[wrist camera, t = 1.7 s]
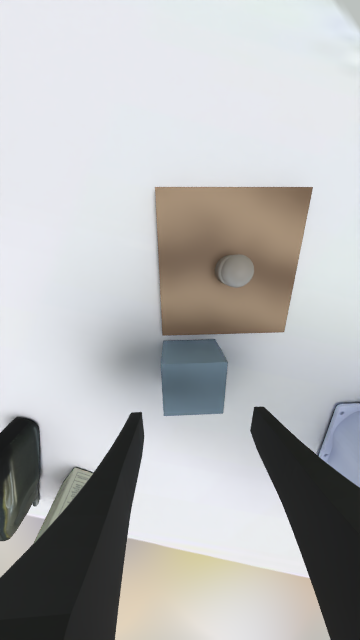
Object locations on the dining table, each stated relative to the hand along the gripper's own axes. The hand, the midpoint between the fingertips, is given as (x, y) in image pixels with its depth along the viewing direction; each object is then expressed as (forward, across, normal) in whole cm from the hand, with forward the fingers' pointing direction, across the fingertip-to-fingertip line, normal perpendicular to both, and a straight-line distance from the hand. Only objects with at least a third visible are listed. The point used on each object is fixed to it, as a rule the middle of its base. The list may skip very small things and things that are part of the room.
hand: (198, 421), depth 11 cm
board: (+7, -3, -9) cm, 12 cm away
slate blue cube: (+7, 0, 0) cm, 7 cm away
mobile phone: (+7, +20, +14) cm, 25 cm away
